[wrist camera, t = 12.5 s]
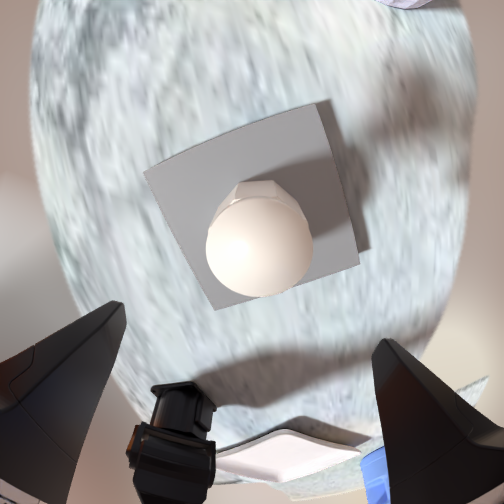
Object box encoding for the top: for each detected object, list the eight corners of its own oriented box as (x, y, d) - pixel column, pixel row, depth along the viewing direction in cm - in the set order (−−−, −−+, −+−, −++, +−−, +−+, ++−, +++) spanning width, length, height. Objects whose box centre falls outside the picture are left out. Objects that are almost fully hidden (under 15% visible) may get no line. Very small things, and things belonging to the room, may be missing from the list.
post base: (216, 299, 23) (207, 345, 18) (150, 168, 18) (115, 186, 13) (354, 255, 21) (379, 294, 16) (310, 105, 16) (331, 97, 11)
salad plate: (283, 414, 32) (284, 435, 29) (361, 439, 38) (364, 454, 35) (199, 449, 39) (197, 464, 36) (280, 471, 45) (280, 483, 42)
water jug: (427, 439, 43) (452, 525, 18) (374, 465, 48) (389, 548, 23) (411, 430, 38) (440, 539, 13) (347, 460, 43) (361, 562, 18)
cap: (254, 162, 16) (253, 176, 12) (315, 215, 18) (334, 247, 13) (202, 223, 18) (185, 257, 14) (262, 269, 20) (263, 312, 15)
